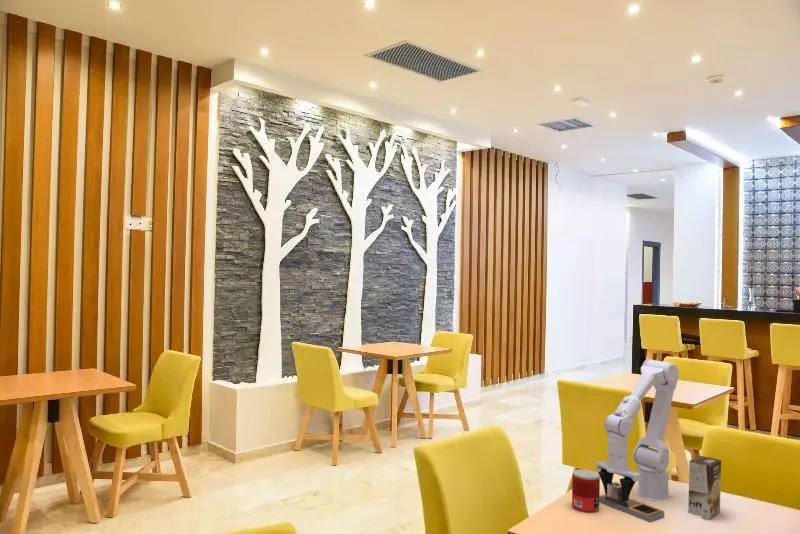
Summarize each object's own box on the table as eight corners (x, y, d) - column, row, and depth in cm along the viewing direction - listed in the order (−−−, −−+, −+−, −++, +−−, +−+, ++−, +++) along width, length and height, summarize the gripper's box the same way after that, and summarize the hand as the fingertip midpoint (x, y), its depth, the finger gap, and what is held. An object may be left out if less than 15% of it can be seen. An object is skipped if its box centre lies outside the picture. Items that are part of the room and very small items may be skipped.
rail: (612, 498, 196) (612, 492, 196) (664, 518, 181) (664, 511, 181) (598, 503, 192) (598, 496, 192) (650, 523, 177) (650, 516, 177)
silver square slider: (615, 500, 193) (615, 481, 193) (626, 504, 190) (626, 485, 190) (607, 503, 191) (607, 483, 191) (617, 507, 188) (618, 487, 188)
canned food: (600, 515, 182) (601, 478, 182) (572, 512, 184) (573, 476, 184) (597, 505, 190) (598, 470, 190) (571, 503, 192) (571, 468, 192)
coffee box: (710, 520, 180) (711, 466, 180) (687, 514, 185) (688, 460, 185) (720, 512, 187) (721, 459, 187) (698, 506, 191) (699, 454, 191)
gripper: (590, 449, 194) (589, 492, 194) (629, 462, 182) (628, 507, 182) (604, 446, 198) (603, 488, 198) (644, 458, 186) (643, 503, 186)
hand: (616, 497), depth 191 cm, fingers open, 6 cm apart
